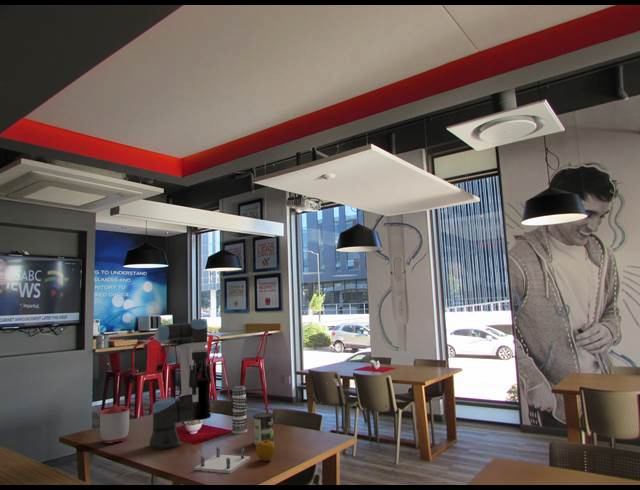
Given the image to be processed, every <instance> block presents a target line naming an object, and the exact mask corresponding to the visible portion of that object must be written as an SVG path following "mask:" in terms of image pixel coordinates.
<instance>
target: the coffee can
mask: <svg viewBox="0 0 640 490" xmlns="http://www.w3.org/2000/svg"><path fill="white" fill-rule="evenodd" d="M252 418H253V436H254V437H253V441H254V442H253V443H254V445H255V446H257V444H258V443H259V442H261V441H265V440H270V441H272V442H273V443H274V442H275V441H274V439H275V438H274V436H275V435H274V414H273V413H272V412H258V413H255V414H254V415H252ZM274 444H275V443H274Z"/></svg>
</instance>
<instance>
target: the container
mask: <svg viewBox="0 0 640 490" xmlns="http://www.w3.org/2000/svg"><path fill="white" fill-rule="evenodd" d="M208 381H209V378H202V377H199V379H198V384H197V387H198V402H193V406H192V416H191V418H192V419H193V420H194V421H200V420H202V421H203V420H206V419H207V420H208V419H210V418H212V417H211V416H212V414H211V410H210V406H211V405H210V384H209V382H208Z"/></svg>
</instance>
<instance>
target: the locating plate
mask: <svg viewBox="0 0 640 490" xmlns="http://www.w3.org/2000/svg"><path fill="white" fill-rule="evenodd" d="M215 448H216V450H215V451H216V452H215V455H213V456H212V457H209V458H208V459H206V460H205V456H204V455H202V456H200V464H198V465H197V466H195V467H194V471H195V470H202V471H201V472H208V471H210V473H220V474H224V473H225V474H232V473H233V472H235V471H236V470H237V469H238V468H240V467H242V466H243V465H244V464H246V463H247V462H249V461H250V460H251V456H247V455H246V456H245V448H240V455H231V454H221V448H220V446H218V447H215Z"/></svg>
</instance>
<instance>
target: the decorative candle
mask: <svg viewBox="0 0 640 490" xmlns="http://www.w3.org/2000/svg"><path fill="white" fill-rule="evenodd" d="M246 389H247V388H246V387H245V386H244V385H235V386H233V388H232V389H231V391H232V395H231V396H230V401H231V411H232V420H231V421H232V423H231V424H232V434H243V433H247V432H248V428H249V427H248V417H247V409H248V407H247V406H248V405H247V403H248V401H247V400H248V398H247V397H246V396H247V395H246Z"/></svg>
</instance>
